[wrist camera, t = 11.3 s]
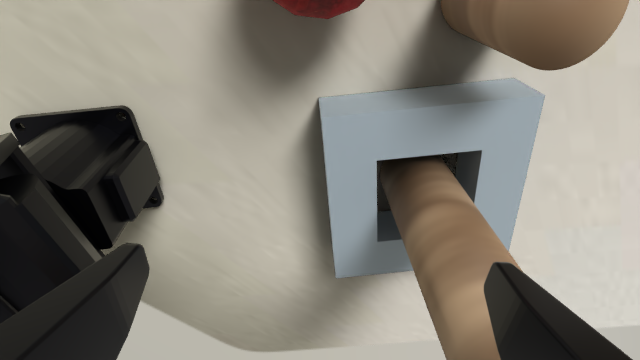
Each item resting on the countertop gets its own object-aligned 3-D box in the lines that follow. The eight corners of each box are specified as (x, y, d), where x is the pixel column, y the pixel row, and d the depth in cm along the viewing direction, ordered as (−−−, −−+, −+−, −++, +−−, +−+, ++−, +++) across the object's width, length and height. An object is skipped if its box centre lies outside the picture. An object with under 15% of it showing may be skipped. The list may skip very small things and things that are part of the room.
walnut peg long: (379, 201, 25) (448, 402, 13) (379, 147, 23) (459, 332, 11) (440, 195, 25) (557, 392, 13) (445, 140, 23) (589, 319, 11)
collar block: (332, 247, 26) (335, 278, 24) (318, 97, 21) (321, 117, 18) (485, 231, 26) (506, 261, 24) (514, 78, 21) (545, 95, 18)
